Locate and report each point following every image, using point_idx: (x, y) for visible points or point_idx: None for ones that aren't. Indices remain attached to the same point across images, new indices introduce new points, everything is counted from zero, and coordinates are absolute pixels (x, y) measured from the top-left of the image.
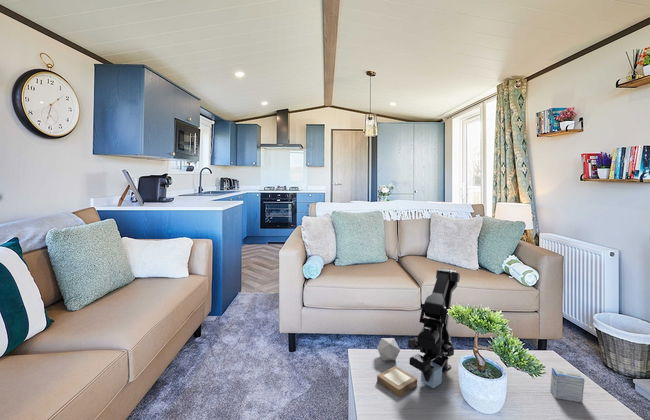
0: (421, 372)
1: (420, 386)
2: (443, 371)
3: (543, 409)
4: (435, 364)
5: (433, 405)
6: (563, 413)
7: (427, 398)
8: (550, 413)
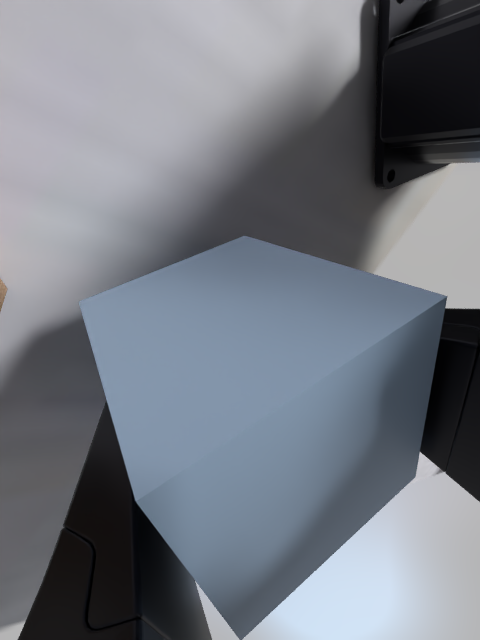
0: (99, 366)
1: (51, 310)
2: (392, 185)
3: (423, 466)
4: (406, 429)
5: (38, 549)
6: (435, 472)
7: (28, 482)
8: (419, 478)
